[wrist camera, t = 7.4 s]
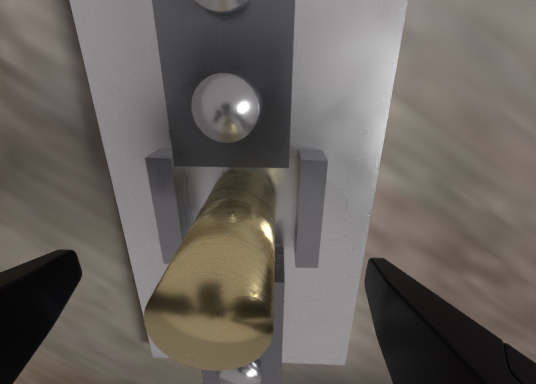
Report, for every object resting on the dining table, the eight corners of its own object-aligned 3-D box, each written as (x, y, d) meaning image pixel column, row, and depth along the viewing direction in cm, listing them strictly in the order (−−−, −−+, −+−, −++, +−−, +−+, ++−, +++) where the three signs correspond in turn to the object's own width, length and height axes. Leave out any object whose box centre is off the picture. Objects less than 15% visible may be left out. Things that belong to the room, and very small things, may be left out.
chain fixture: (341, 350, 18) (358, 423, 14) (159, 343, 18) (128, 413, 15) (414, -106, 9) (507, -227, 5) (64, -100, 10) (-75, -212, 6)
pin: (275, 229, 13) (272, 373, 7) (214, 227, 13) (154, 368, 7) (276, 170, 12) (274, 277, 6) (209, 169, 12) (133, 274, 6)
